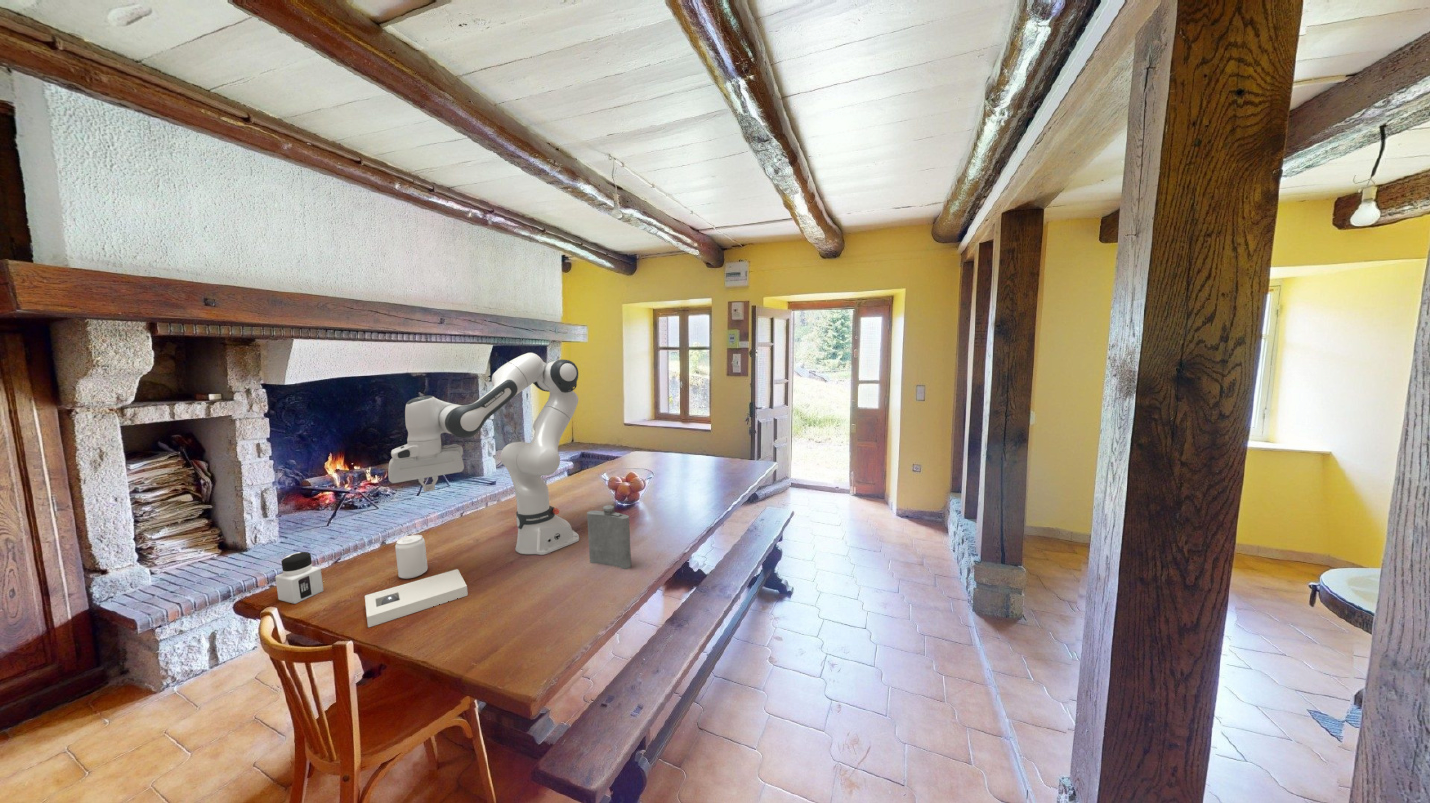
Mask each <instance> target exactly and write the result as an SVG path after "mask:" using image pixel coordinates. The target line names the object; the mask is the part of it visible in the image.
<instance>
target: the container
mask: <svg viewBox="0 0 1430 803" xmlns="http://www.w3.org/2000/svg"><path fill="white" fill-rule="evenodd" d="M281 568H282V573H279V574H277V575H275V577H274V578H275V585H276V591H277V598H278V599H277V600H279V601H282V602H286V603H291V604H294V605H295V604H298V603H301V602H303V601H305V600H307V599H309V598H312V597H314V596H316V595H318V594H320V593H322V592H324V584H323V582H324V581H323V577H322V570H321V567H318V566H313V562H312V554H311V553H310V552H309V551H308V552H307V551H298V552H294V553H291V554H289V555H287V556H285V557H283V558H282V559H281Z"/></svg>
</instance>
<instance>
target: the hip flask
mask: <svg viewBox="0 0 1430 803" xmlns="http://www.w3.org/2000/svg"><path fill="white" fill-rule="evenodd" d="M614 510H615V506H614V505H612V504H609V505H605V506H603V507H602V510H589V511H587V512H586V517H587V518H586V520H587V533H588V534H587V538H588V549H589V551H588V552H589V563H591V564H599V565H605V566H612V567H615V568H620V569H622V570H628V569H629V570H630V569H631V568H632V557H631V556H632V553H631V531H630V516H629V515H628V514H623V513H620V512H616V511H614Z"/></svg>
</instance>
